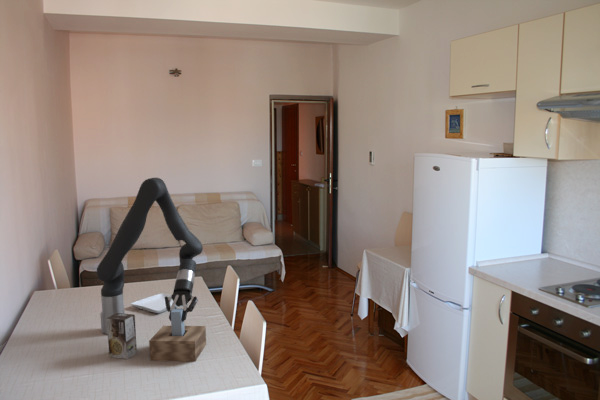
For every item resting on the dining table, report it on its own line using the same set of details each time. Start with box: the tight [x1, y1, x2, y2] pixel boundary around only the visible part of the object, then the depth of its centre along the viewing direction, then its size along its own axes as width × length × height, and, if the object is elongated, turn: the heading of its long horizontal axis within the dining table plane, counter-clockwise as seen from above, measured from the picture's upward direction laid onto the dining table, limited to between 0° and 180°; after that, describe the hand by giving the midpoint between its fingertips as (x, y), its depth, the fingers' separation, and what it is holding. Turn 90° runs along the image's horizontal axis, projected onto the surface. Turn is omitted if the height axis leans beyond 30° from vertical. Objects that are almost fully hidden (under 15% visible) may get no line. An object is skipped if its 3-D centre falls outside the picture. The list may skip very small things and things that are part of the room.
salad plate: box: [130, 292, 173, 314], centre depth 254 cm, size 21×21×3 cm
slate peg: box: [170, 308, 186, 336], centre depth 195 cm, size 4×4×10 cm
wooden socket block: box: [148, 325, 207, 362], centre depth 196 cm, size 18×16×8 cm
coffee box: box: [106, 313, 138, 360], centre depth 194 cm, size 9×6×16 cm
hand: (177, 320), depth 194 cm, fingers closed on slate peg, 4 cm apart
